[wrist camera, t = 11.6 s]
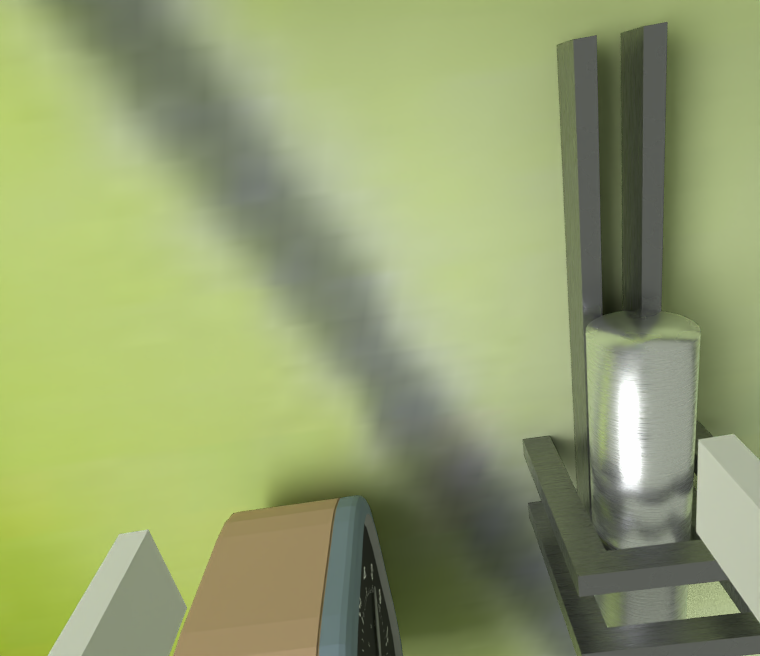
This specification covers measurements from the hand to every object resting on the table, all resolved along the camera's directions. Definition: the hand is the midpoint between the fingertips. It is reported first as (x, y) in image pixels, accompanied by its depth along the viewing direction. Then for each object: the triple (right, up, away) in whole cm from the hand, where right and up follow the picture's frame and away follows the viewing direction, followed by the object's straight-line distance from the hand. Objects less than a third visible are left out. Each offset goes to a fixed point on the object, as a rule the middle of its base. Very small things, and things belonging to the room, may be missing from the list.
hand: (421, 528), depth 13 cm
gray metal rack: (+15, +4, +25) cm, 30 cm away
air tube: (+16, -4, +25) cm, 30 cm away
